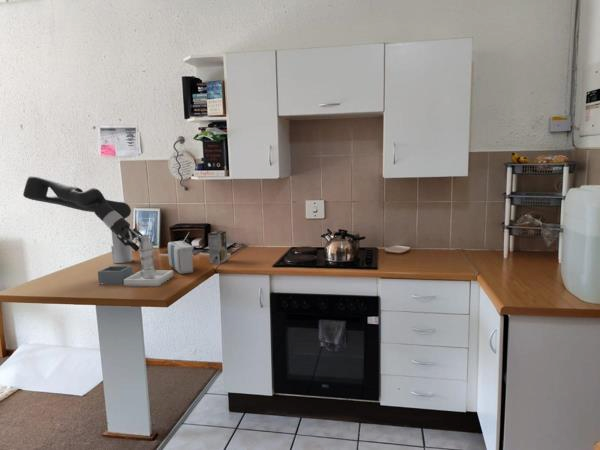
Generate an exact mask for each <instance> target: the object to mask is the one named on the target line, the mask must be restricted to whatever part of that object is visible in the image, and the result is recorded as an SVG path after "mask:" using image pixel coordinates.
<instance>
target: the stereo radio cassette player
mask: <svg viewBox="0 0 600 450" xmlns="http://www.w3.org/2000/svg"><path fill="white" fill-rule="evenodd" d="M189 234H190V231H188V233H187V235H186V236H185V238H184V239H183V240H177V241H169V242H168V243H167V255H168V256H167V257H168V264H169V266H170V267H172V269H174V271H176V272H177V273H179V274H180V275H184V274H189V273H191V274H192V273H193V272H194V264H193V263H194V262H193V261H194V260H193V250H194V246H193V245H191V244H189V243H187V242H186V241H185V240H186V239H187V237H188V235H189Z"/></svg>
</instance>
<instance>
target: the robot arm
mask: <svg viewBox="0 0 600 450" xmlns="http://www.w3.org/2000/svg"><path fill="white" fill-rule="evenodd" d="M24 185H25V186H24V190H23V194H22V195H23V197H24V198H25V199H28V200H32V201H37V202H43V203H48V204H54V205H59V206H62V207H67V208H70V209H74V210H78V211H82V212H89V213H90V212H91V213H94V215H96V216H97V218H99V220H100V221H102V222H103V224H104V225H105V226H106V227H107V228H108V229H109V230H110V231H111V239H112V241H111V242H112V245H111V248H110V249H111V256H112V263H114V264H125V263H130V262H132V261H133V255H132V254H133V253H132V252H133V251H132V249H133V250H134V252H139V249H140V248H139V245H137V243H136V242H139V244H140V243H141V236H143V235H144V234H142V233H141V232H140V231H139V230H138V229H137V228H136V227H135V228H134V227H133V229H132V228H130V227H131V224H130V222H128V220H126V219H127V218H128V217H129V216H130V215H131V212H132V210H131V207H130V205H128V203H126V202H123V201H114V200H110V199H106V198H105V196H104V195H103V193H102V192H101V191H100V190H99V189H98V188H94V187H93V188H92V187H91V188H88V189H85V190H84V191H83V189H81V188H79V187H77V186H72V185H66V184H63V183H60V182H57V181H55V180H51V179H48V178H45V177H41V176H36V175H30V176H28V177H27V179H26V182H25V184H24ZM49 188H50V190H52V192H53V194H55V195H50V196H49V195H47V194H48V192H49ZM134 241H135V242H134Z"/></svg>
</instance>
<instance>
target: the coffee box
mask: <svg viewBox="0 0 600 450" xmlns="http://www.w3.org/2000/svg"><path fill="white" fill-rule="evenodd" d="M207 240H208V241H207V243H208V256H209V257H208V258H209V264H215V265H218V264H220V265H221V264H222V263H225V262H226V261H228V249H227V248H228V247H227V233H226V231H224V230H214V231H212V232H209V233H207Z"/></svg>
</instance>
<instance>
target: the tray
mask: <svg viewBox="0 0 600 450" xmlns="http://www.w3.org/2000/svg"><path fill="white" fill-rule="evenodd" d="M155 271H156V276H155V278H152V279H143V278H142V276H141V270H139V271H137V272H135V273H133V275H131V276H130V277H128V278H126V279H124V284H123V287H160V286H162V285H163V284H165V283H166V282H167V280H168V281H169V280H171V279H172V278H173V277H174V270H170V269H169V270H165V269H164V270H163V269H162V270H160V269H158V270H156V269H155ZM170 278H171V279H170ZM164 282H165V283H164ZM162 283H163V284H162ZM161 284H162V285H161ZM159 285H160V286H159Z"/></svg>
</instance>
